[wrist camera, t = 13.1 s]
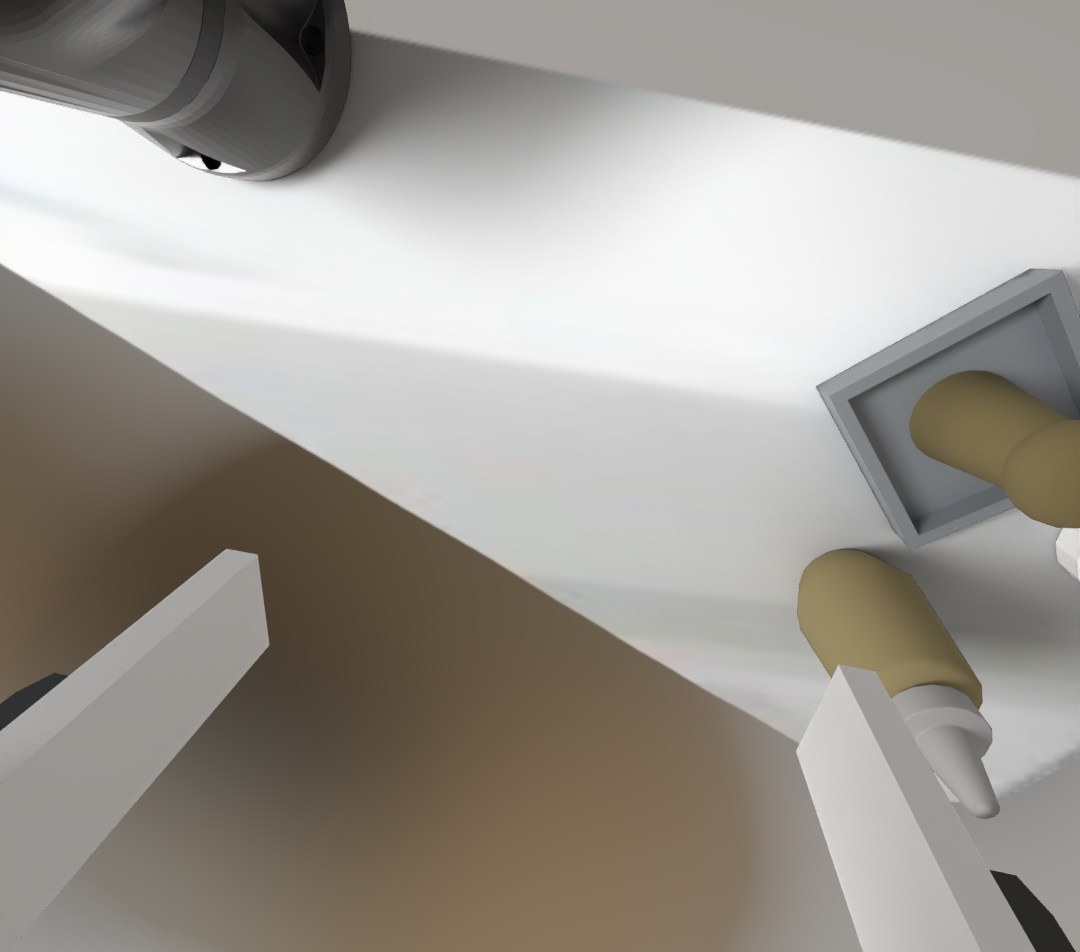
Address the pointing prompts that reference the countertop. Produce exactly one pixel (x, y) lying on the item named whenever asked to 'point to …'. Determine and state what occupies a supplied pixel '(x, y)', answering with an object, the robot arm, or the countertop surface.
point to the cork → (1003, 442)
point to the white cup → (1069, 551)
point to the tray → (933, 354)
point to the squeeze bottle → (902, 662)
